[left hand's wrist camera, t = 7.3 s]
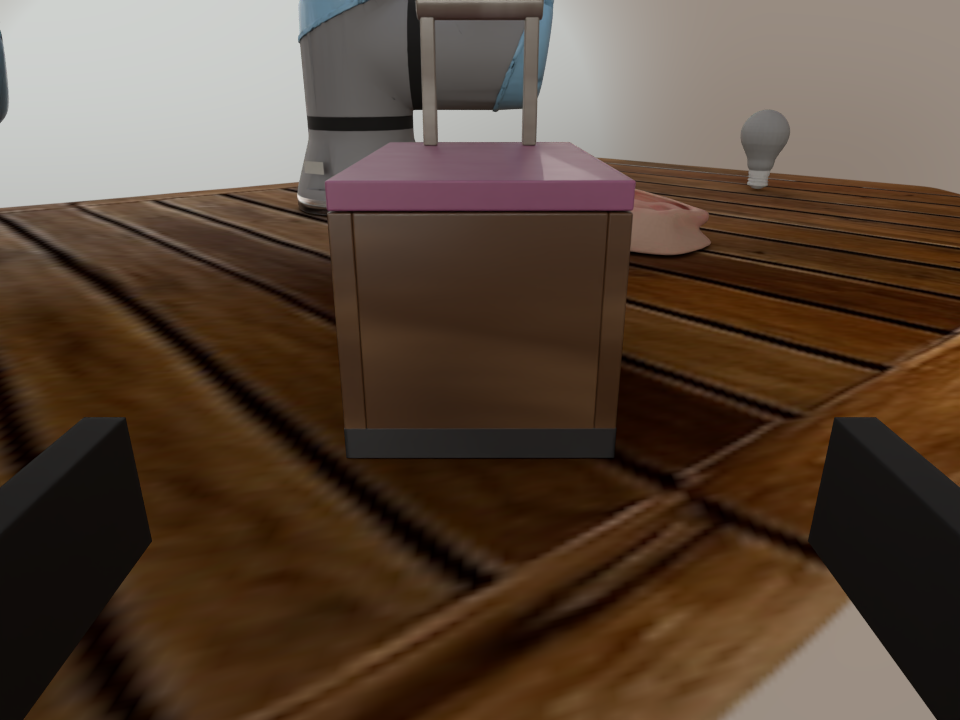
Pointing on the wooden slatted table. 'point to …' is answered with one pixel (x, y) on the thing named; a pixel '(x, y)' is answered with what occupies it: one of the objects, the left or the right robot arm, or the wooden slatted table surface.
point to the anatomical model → (666, 226)
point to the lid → (480, 147)
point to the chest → (480, 331)
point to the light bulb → (763, 144)
